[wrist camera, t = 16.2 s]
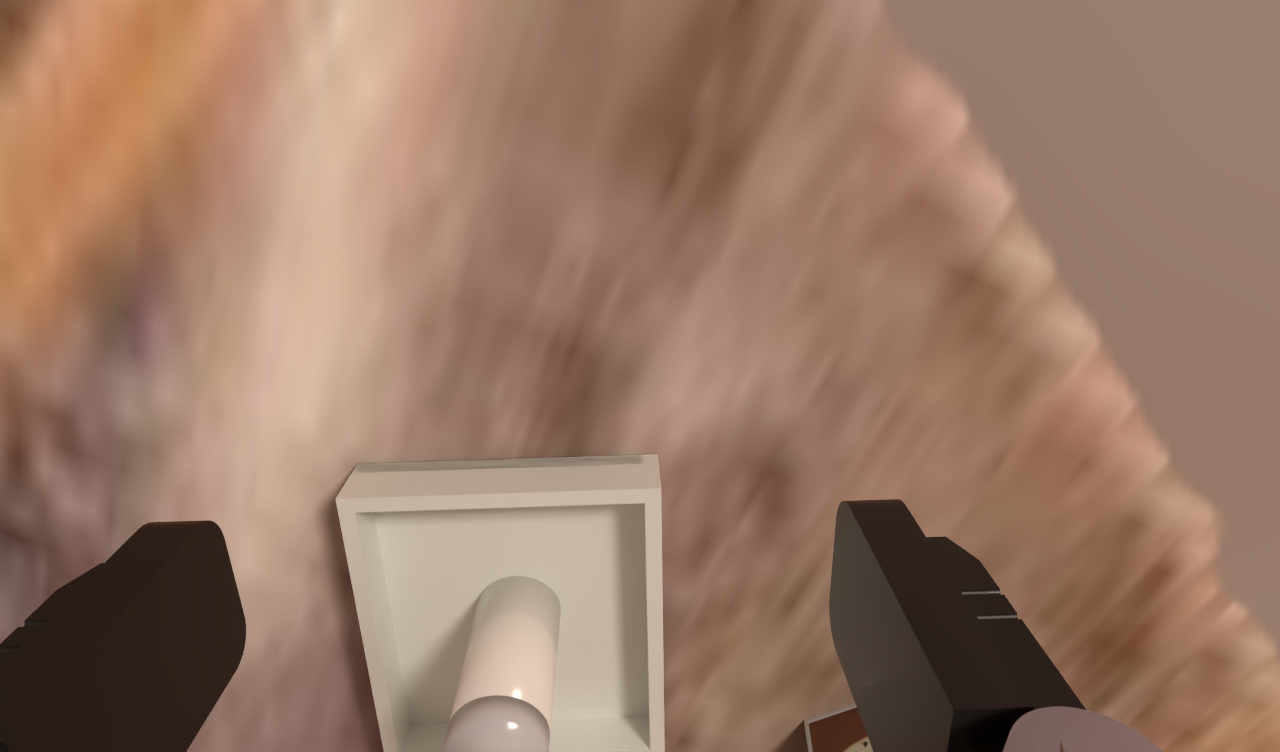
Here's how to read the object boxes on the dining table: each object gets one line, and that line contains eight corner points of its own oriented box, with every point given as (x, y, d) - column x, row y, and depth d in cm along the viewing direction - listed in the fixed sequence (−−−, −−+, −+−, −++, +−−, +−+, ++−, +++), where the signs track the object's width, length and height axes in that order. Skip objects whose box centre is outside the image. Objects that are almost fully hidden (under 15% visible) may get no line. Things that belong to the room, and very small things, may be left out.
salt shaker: (481, 645, 45) (448, 802, 35) (472, 578, 43) (434, 724, 34) (563, 641, 45) (551, 797, 35) (558, 574, 43) (543, 719, 34)
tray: (402, 722, 48) (387, 770, 45) (357, 463, 41) (335, 498, 38) (661, 712, 48) (664, 759, 45) (657, 454, 41) (661, 488, 38)
